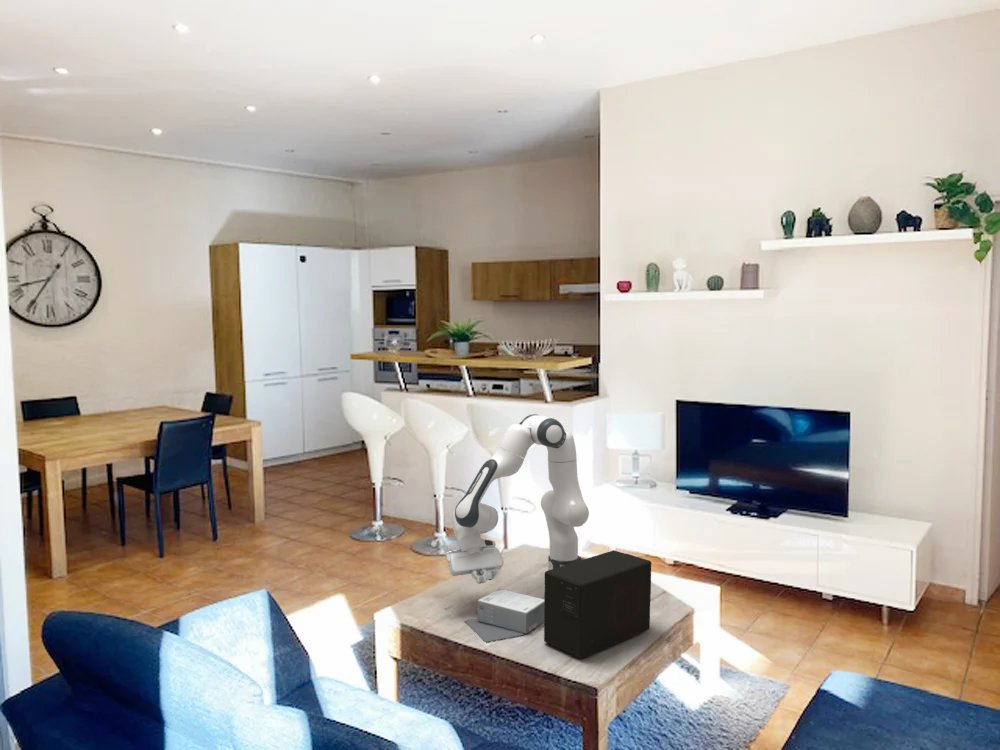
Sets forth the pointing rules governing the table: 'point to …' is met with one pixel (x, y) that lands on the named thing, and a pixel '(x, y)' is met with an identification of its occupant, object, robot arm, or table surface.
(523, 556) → the table surface
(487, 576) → the light bulb box
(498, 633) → the mat
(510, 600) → the hard drive box
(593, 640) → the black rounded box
